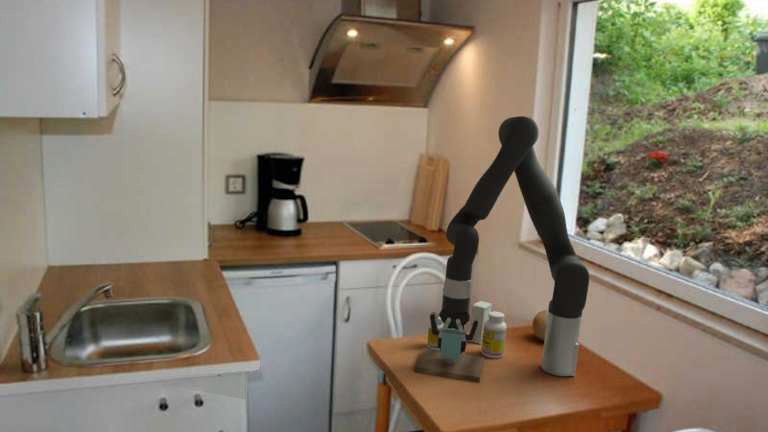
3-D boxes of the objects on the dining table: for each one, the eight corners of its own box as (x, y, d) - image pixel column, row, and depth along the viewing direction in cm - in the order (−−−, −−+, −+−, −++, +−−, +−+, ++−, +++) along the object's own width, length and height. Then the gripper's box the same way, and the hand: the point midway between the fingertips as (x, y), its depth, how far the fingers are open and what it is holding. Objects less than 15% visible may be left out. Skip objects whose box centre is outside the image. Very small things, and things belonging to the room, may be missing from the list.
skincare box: (480, 344, 201) (484, 308, 199) (468, 341, 203) (471, 304, 201) (488, 339, 206) (492, 303, 204) (476, 335, 208) (479, 300, 206)
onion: (545, 347, 202) (549, 317, 200) (524, 336, 211) (527, 307, 209) (568, 343, 207) (572, 314, 205) (546, 332, 215) (550, 304, 213)
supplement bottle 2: (477, 350, 196) (481, 310, 194) (497, 349, 198) (501, 309, 196) (486, 359, 190) (491, 318, 187) (507, 358, 192) (511, 317, 189)
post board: (483, 362, 188) (484, 357, 187) (479, 382, 174) (479, 377, 174) (422, 352, 191) (423, 348, 191) (414, 371, 178) (414, 366, 178)
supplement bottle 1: (443, 351, 194) (446, 320, 192) (425, 349, 194) (428, 318, 193) (445, 345, 199) (448, 315, 197) (428, 342, 200) (430, 312, 198)
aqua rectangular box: (461, 352, 184) (463, 328, 183) (459, 359, 179) (461, 335, 178) (442, 349, 185) (445, 326, 184) (440, 356, 180) (442, 332, 179)
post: (455, 360, 184) (458, 336, 182) (454, 364, 181) (456, 339, 180) (445, 359, 184) (448, 334, 183) (444, 363, 182) (446, 338, 180)
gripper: (483, 293, 181) (477, 350, 184) (433, 286, 184) (428, 342, 187) (481, 300, 174) (475, 360, 177) (429, 293, 177) (424, 352, 180)
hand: (451, 350), depth 182 cm, fingers closed on aqua rectangular box, 5 cm apart
